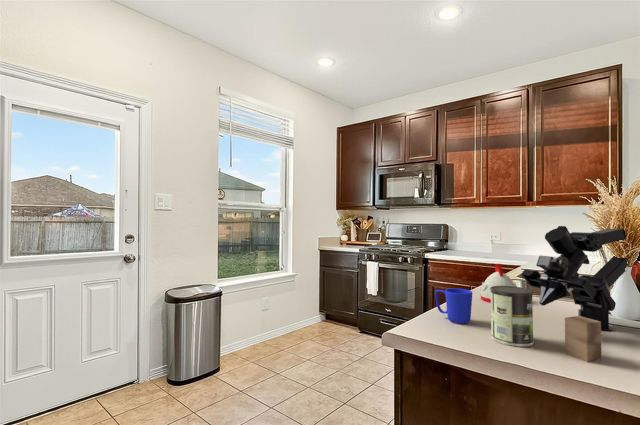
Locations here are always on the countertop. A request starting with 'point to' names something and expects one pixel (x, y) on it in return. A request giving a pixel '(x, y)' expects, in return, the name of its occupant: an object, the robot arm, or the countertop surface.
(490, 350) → the countertop surface
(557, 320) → the countertop surface
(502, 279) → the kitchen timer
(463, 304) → the mug
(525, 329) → the coffee can
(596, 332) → the walnut block
